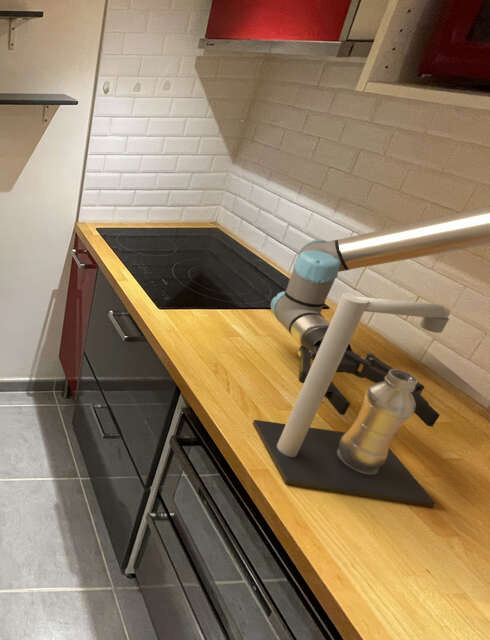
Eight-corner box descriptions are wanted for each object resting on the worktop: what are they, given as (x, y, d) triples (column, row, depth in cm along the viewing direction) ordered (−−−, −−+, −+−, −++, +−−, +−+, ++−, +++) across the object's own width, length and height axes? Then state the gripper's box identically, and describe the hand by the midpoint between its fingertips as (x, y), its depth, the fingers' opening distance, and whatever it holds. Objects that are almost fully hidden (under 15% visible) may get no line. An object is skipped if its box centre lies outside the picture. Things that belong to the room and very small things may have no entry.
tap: (377, 441, 89) (464, 288, 74) (432, 507, 76) (550, 339, 61) (252, 423, 92) (311, 274, 78) (285, 484, 80) (362, 320, 65)
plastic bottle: (326, 451, 85) (368, 368, 76) (349, 441, 87) (392, 359, 79) (365, 480, 79) (415, 394, 71) (388, 468, 81) (438, 383, 73)
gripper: (378, 361, 96) (461, 441, 77) (252, 347, 100) (302, 420, 81) (392, 332, 93) (483, 408, 74) (262, 319, 96) (316, 388, 77)
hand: (388, 414), depth 77 cm, fingers open, 13 cm apart
